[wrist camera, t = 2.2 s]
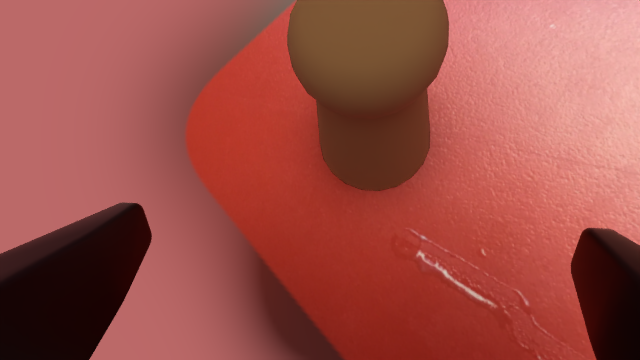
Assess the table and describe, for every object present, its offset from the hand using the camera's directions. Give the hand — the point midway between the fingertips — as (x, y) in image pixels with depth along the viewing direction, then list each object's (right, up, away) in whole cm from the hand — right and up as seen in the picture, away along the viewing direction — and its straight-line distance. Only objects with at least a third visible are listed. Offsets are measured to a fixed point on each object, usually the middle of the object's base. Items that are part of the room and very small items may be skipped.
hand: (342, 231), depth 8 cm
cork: (+3, +3, +14) cm, 15 cm away
